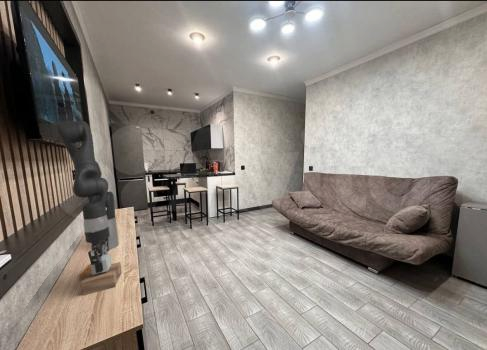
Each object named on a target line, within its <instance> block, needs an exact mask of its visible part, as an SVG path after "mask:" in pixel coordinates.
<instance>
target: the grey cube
mask: <svg viewBox="0 0 487 350" xmlns="http://www.w3.org/2000/svg"><path fill="white" fill-rule="evenodd" d="M99 258H100V257H99ZM102 264H103V271H102V272H106V271H108V270H109V268H110V267H111V265H112V264H113V262H112V258H111V253H108V254H105V255H103V256H102ZM91 269H92V275H94V274H98V273H96V270H95V265H91ZM102 272H99V273H102Z"/></svg>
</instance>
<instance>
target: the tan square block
mask: <svg viewBox="0 0 487 350" xmlns="http://www.w3.org/2000/svg"><path fill="white" fill-rule="evenodd" d="M121 275H122V264H121V261H120V262H119V261H118V262H115V263H112V265H111V267H110V268H109V270H108V271H106V272H102V273H98V274H94V275H92V270H91V271H90V272H89V274H88V275H87V276H86V278H85V279H82V281H81V288H82V295H83V296H88V295H91V294H94V293H98V292H101V291H106V290H109V289H113V288H115V287H116V286H117V284H118V282H119V280H120V277H121Z"/></svg>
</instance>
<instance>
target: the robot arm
mask: <svg viewBox="0 0 487 350" xmlns="http://www.w3.org/2000/svg"><path fill="white" fill-rule="evenodd" d="M55 128H56V131H57V134H58V136H59V138H60V141H61V142H62V144H63V146H64V147H65V149H66V151H67V152H68V155H69V157H70V159H71V161H72V163H73V167H74V171H75V176H74V177H75V178H74V183H73V184H72V185H73V187H72V193H73V194H74V196H76V197H77V198H87V199H88V202H86V203H84V204H83V205H82V208H81V209H82V216H83V232H84V237H85V243H88V244H91V248H90V250H89V251H88V253H87V255H88V257H89V262H90V264H91V265H95V270H96V273H99V272H102V271H103V264H102V256H103V255H105V254H109V250H112V249H113V248H116V247H118V246H119V243H120V242H119V236H118V235H119V234H118V233H119V232H118V228H117V227H118V226H117V220H116V219H117V218H116V207H115V196H114V193H113V192H112V191H109V182H108V180H107V179H106V178H104V177H102V175H103V174H102V170H101V167H100V165H99V162H97V160H96V158H95V149H94V146H95V145H94V140H93V135H92V134H93V133H92V130H91V127H90V125H89V124H88V123H87V122H86V121H84V120H83V121H82V120H78V121H76V120H73V121H59V122H57V123H56V124H55ZM75 143H82V144H81V146H80V147H79V148H78V147H77V145H76V144H75ZM99 257H100V258H99Z"/></svg>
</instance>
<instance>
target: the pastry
mask: <svg viewBox="0 0 487 350" xmlns="http://www.w3.org/2000/svg"><path fill="white" fill-rule="evenodd" d="M91 270H92V269H91V263H89V264H88V265H87V267H85V268H84V270H82V274H81V275H82V280H84V279H85V278H86V276H87V275H88V274H89V272H90V271H91Z"/></svg>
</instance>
